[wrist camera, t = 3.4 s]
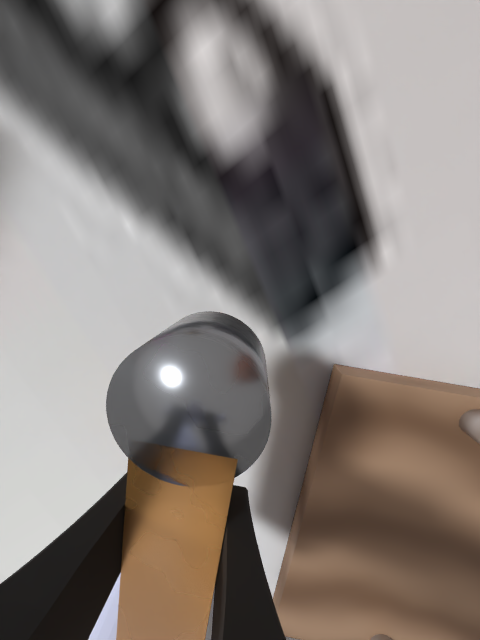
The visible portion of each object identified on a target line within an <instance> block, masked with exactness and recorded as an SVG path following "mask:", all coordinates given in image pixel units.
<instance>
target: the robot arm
mask: <svg viewBox="0 0 480 640" xmlns="http://www.w3.org/2000/svg"><path fill="white" fill-rule="evenodd" d="M126 486H127V473H126V474H125V475H124V476H123V477H122V478H121V479H120V480H119V481H118V482H117V483H116V484H115V485H114V486H113V487H112V488H111V489H110V490H109V491H108V492H107V493H106V494H105V495H104V496H103V497H102V498H101V499H100V500H99V501H97V502H96V503H95V504H94V505H93V506H92V507H91V508H90V509H89V510H88V511H87V512H86V513H85V514H83V515H82V516H81V517H80V518H79V519H78V520H77V521H76V522H75V523H74V524H72V525H71V526H70V527H69V528H68V529H67V530H66V531H64V532H63V533H62V534H61V535H60V536H59V537H57V538H56V539H55V540H54V541H53V542H52V543H50V544H49V545H48V546H47V547H46V548H45V549H43V550H42V551H41V552H40V553H39V554H37V555H36V556H35V557H34V558H33V559H31V560H30V561H29V562H28V563H26V564H25V565H24V566H23V567H21V568H20V569H19V570H18V571H16V572H15V573H14V574H13V575H11V576H10V577H9V578H7V579H6V580H5V581H4V582H2V583H1V584H0V640H116V635H117V620H118V605H119V590H120V575H121V561H122V546H123V531H124V516H125V501H126ZM211 640H286V638H285V635H284V632H283V629H282V626H281V623H280V620H279V617H278V614H277V611H276V608H275V605H274V602H273V599H272V595H271V592H270V589H269V585H268V582H267V579H266V575H265V572H264V568H263V565H262V561H261V557H260V553H259V549H258V545H257V541H256V537H255V532H254V528H253V523H252V518H251V512H250V506H249V498H248V490H247V489H246V488H245V487H240V486H235V485H233V487H232V493H231V498H230V504H229V509H228V515H227V520H226V526H225V531H224V537H223V542H222V548H221V553H220V559H219V564H218V570H217V575H216V581H215V594H214V608H213V623H212V638H211Z"/></svg>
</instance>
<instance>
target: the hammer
mask: <svg viewBox="0 0 480 640" xmlns="http://www.w3.org/2000/svg"><path fill="white" fill-rule="evenodd" d="M106 411H107V418H108V423H109V426H110V429H111V432H112V434H113V436H114V438H115V440H116V442H117V444H118V445H119V447H120V448H121V450H122V451H123V452H124V453H125V455H126V456H127V457H128V471H127V486H126V501H125V516H124V531H123V546H122V561H121V575H120V590H119V605H118V620H117V635H116V640H205V636H206V630H207V625H208V619H209V614H210V608H211V603H212V597H213V592H214V586H215V581H216V575H217V570H218V564H219V559H220V553H221V548H222V542H223V537H224V531H225V526H226V520H227V515H228V509H229V504H230V498H231V493H232V487H233V482H234V478H235V477H237V476H238V475H240V474H241V473H243V472H244V471H246V470H247V469H248V468H249V467H250V466H251V465H252V464H253V463H254V462H255V461H256V460H257V459H258V457H259V456H260V454H261V453H262V451H263V450H264V447H265V445H266V443H267V441H268V437H269V434H270V428H271V406H270V396H269V387H268V377H267V368H266V359H265V354H264V350H263V347H262V345H261V343H260V341H259V339H258V338H257V336H256V335H255V333H254V332H253V331H252V330H251V329H250V328H249V327H248V326H247V325H246V324H244V323H243V322H242V321H240V320H238V319H237V318H235V317H233V316H230V315H227V314H224V313H220V312H199V313H195V314H191V315H189V316H187V317H184V318H182V319H181V320H179V321H178V322H176V323H175V324H173V325H172V326H170V327H169V328H167V329H166V330H164V331H163V332H161V333H160V334H159V335H157V336H156V337H154V338H153V339H151V340H150V341H148V342H147V343H145V344H144V345H142V346H141V347H139V348H138V349H136V350H135V351H133V352H132V353H131V354H130V355H129V356H128V357H126V358H125V359H124V361H123V362H122V363H121V364H120V365H119V367H118V368H117V370H116V371H115V373H114V375H113V377H112V379H111V382H110V384H109V388H108V392H107V400H106Z"/></svg>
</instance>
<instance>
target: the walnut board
mask: <svg viewBox="0 0 480 640" xmlns="http://www.w3.org/2000/svg"><path fill="white" fill-rule="evenodd" d="M273 602H274V605H275V608H276V611H277V614H278V617H279V620H280V623H281V626H282V629H283V632H284V635H285V636H286V637H291V638H295V639H300V640H480V389H478V388H472V387H466V386H460V385H455V384H449V383H443V382H437V381H431V380H425V379H419V378H413V377H407V376H402V375H396V374H390V373H384V372H378V371H372V370H366V369H360V368H354V367H349V366H343V365H337V364H334V365H333V369H332V373H331V377H330V381H329V384H328V388H327V392H326V396H325V400H324V404H323V408H322V411H321V415H320V419H319V423H318V427H317V431H316V435H315V438H314V442H313V446H312V450H311V454H310V458H309V462H308V465H307V469H306V473H305V477H304V481H303V485H302V489H301V492H300V496H299V500H298V504H297V508H296V512H295V516H294V519H293V523H292V527H291V531H290V535H289V539H288V543H287V546H286V550H285V554H284V558H283V562H282V566H281V570H280V573H279V577H278V581H277V585H276V589H275V593H274V597H273Z"/></svg>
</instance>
